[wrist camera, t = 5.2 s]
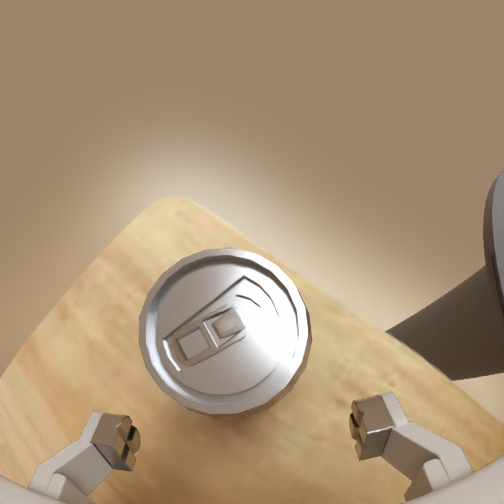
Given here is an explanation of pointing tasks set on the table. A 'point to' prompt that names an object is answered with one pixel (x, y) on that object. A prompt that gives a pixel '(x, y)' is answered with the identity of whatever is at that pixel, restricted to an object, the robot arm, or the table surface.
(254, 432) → the table surface
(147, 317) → the green soda can
